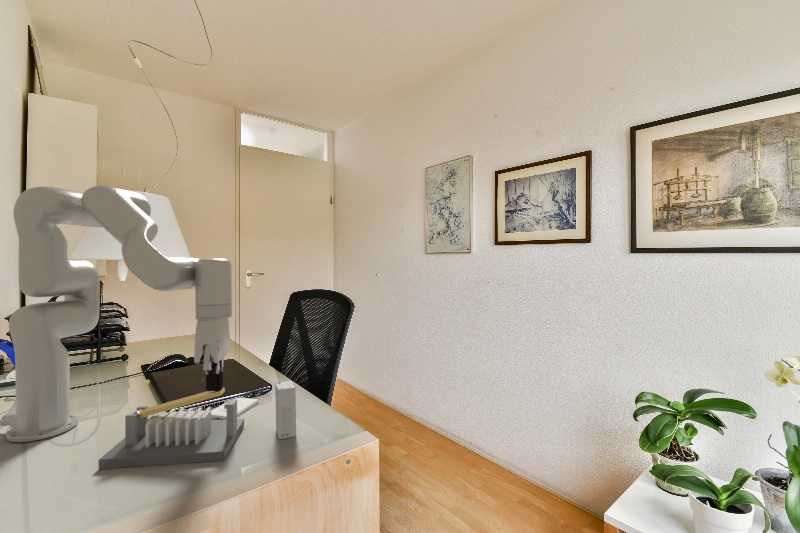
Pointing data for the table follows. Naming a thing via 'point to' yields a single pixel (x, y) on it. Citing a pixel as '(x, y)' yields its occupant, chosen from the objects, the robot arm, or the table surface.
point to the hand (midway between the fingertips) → (214, 389)
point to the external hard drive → (242, 406)
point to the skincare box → (285, 409)
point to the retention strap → (178, 403)
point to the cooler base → (173, 452)
